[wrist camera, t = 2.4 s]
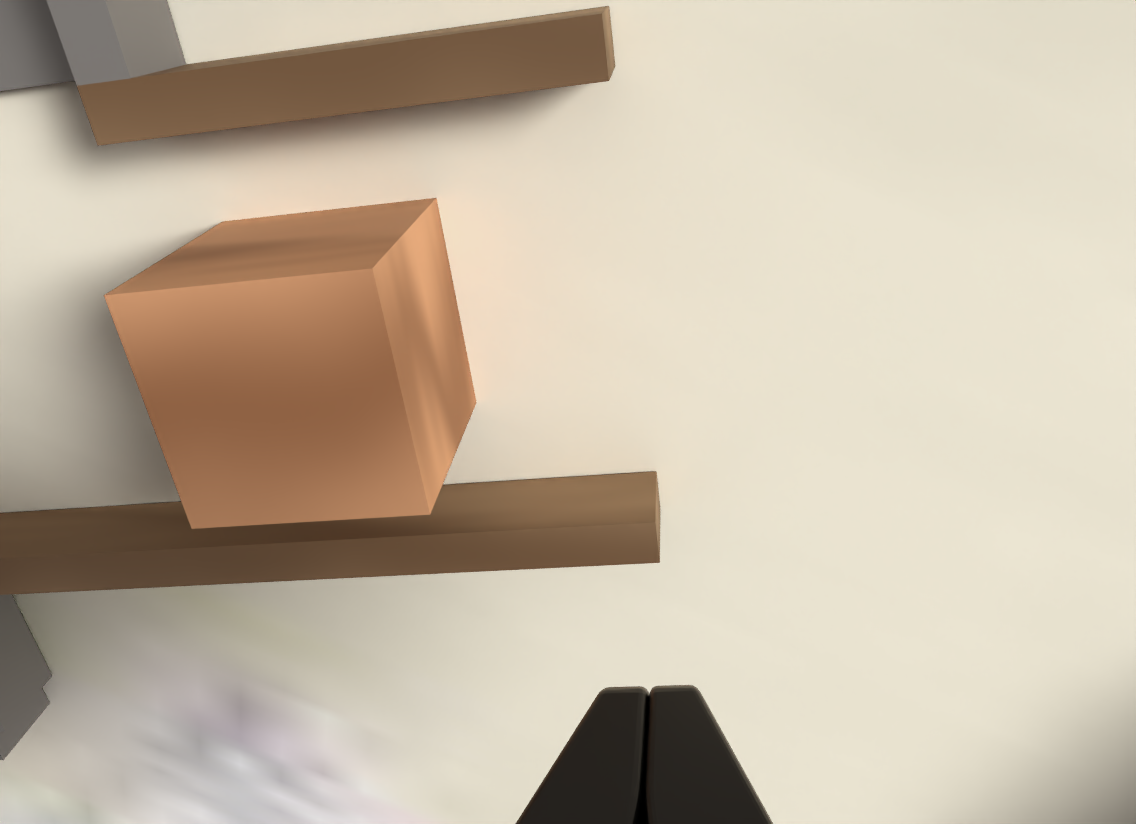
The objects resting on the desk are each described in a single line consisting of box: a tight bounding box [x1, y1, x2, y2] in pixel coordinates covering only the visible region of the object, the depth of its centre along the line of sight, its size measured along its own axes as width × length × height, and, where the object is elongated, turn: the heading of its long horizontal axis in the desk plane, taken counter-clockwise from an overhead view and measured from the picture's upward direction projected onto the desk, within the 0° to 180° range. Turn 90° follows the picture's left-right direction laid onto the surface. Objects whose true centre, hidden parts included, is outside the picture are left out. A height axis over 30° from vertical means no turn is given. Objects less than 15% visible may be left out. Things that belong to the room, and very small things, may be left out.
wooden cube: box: [104, 198, 476, 529], centre depth 17 cm, size 4×4×4 cm
